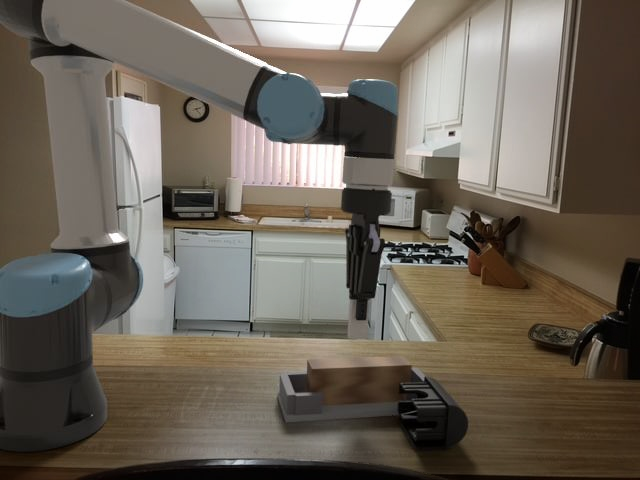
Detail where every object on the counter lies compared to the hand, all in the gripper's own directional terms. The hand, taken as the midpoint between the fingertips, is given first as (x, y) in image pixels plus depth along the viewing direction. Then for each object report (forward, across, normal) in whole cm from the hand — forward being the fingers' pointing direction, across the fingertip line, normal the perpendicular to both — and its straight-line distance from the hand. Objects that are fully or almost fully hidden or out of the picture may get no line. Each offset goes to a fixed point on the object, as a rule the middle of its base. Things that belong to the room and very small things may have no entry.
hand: (356, 337), depth 84 cm
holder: (+11, 0, 0) cm, 11 cm away
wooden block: (+10, 0, -1) cm, 10 cm away
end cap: (+11, -11, -8) cm, 18 cm away
